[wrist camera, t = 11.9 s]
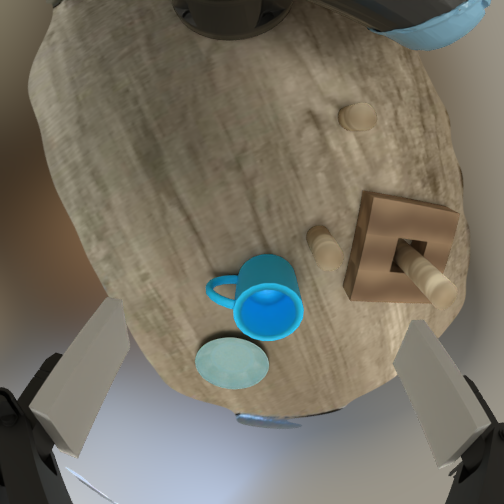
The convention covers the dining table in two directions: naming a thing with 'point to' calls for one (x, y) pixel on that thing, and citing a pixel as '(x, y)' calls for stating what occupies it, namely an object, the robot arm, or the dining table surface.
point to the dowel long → (425, 276)
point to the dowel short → (357, 117)
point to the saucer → (232, 363)
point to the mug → (263, 298)
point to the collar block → (384, 245)
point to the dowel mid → (324, 248)
